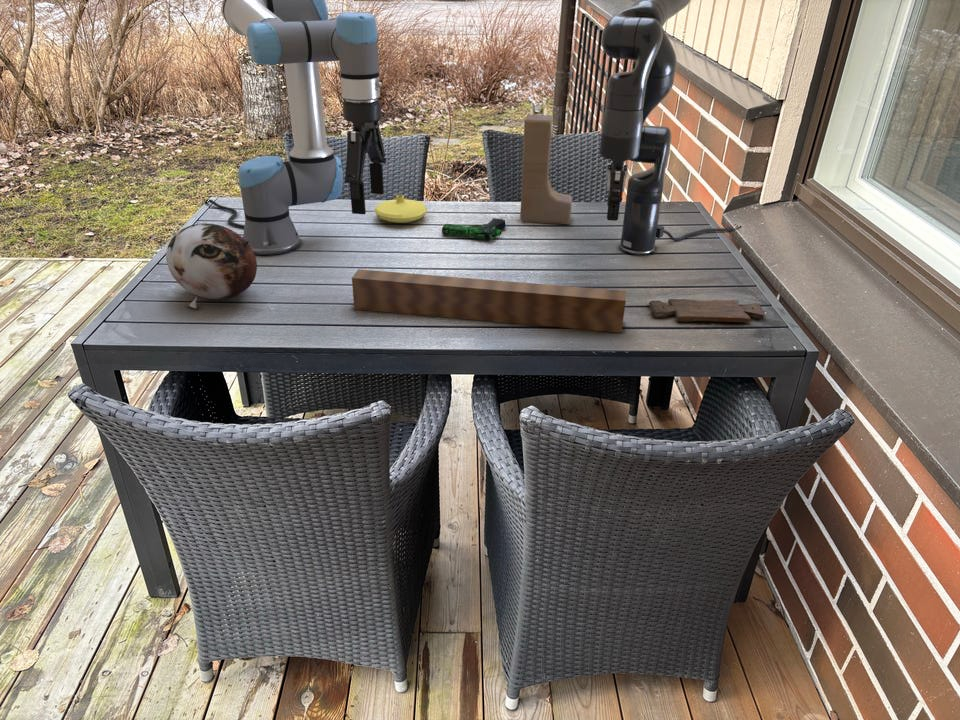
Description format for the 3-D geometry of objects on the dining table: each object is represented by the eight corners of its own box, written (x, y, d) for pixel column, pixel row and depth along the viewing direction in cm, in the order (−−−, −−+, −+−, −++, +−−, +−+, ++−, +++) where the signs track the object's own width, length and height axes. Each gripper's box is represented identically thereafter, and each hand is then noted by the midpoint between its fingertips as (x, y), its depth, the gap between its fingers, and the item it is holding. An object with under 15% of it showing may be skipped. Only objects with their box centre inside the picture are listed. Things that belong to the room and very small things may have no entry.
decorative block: (569, 225, 214) (578, 121, 198) (519, 222, 215) (524, 119, 200) (570, 216, 220) (578, 116, 205) (522, 213, 222) (526, 113, 206)
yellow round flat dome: (398, 206, 226) (397, 184, 222) (437, 217, 218) (437, 194, 214) (364, 220, 215) (362, 197, 211) (403, 231, 207) (402, 208, 203)
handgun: (511, 219, 210) (493, 234, 198) (511, 228, 211) (492, 244, 199) (461, 212, 215) (440, 226, 203) (461, 221, 217) (440, 236, 204)
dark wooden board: (769, 325, 160) (756, 306, 169) (771, 319, 159) (757, 299, 168) (654, 321, 161) (647, 302, 169) (655, 314, 160) (648, 295, 168)
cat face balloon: (130, 285, 161) (164, 203, 163) (192, 308, 177) (221, 233, 178) (195, 307, 151) (229, 220, 152) (254, 330, 166) (285, 250, 168)
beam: (354, 309, 164) (351, 277, 160) (360, 299, 168) (358, 269, 164) (621, 332, 156) (625, 300, 152) (621, 322, 161) (625, 290, 157)
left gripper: (360, 113, 131) (368, 224, 142) (396, 88, 152) (400, 186, 163) (321, 111, 132) (332, 221, 143) (362, 87, 153) (368, 184, 164)
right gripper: (642, 141, 131) (631, 226, 139) (640, 124, 143) (630, 203, 151) (601, 139, 132) (592, 223, 140) (602, 122, 144) (594, 200, 152)
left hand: (368, 203), depth 153 cm, fingers open, 13 cm apart
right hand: (612, 212), depth 146 cm, fingers open, 8 cm apart
